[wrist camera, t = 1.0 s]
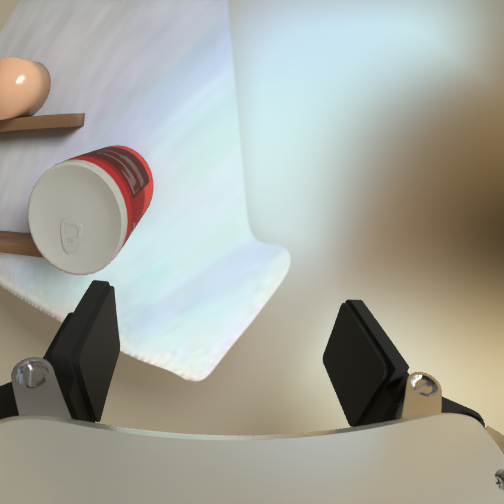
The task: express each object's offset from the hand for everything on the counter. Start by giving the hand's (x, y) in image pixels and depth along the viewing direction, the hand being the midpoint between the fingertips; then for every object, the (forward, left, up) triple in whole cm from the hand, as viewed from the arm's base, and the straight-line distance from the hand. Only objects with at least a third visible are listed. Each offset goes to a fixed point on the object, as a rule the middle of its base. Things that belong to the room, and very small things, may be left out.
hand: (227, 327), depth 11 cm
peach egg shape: (-10, -21, -20) cm, 31 cm away
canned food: (0, -10, -20) cm, 23 cm away
